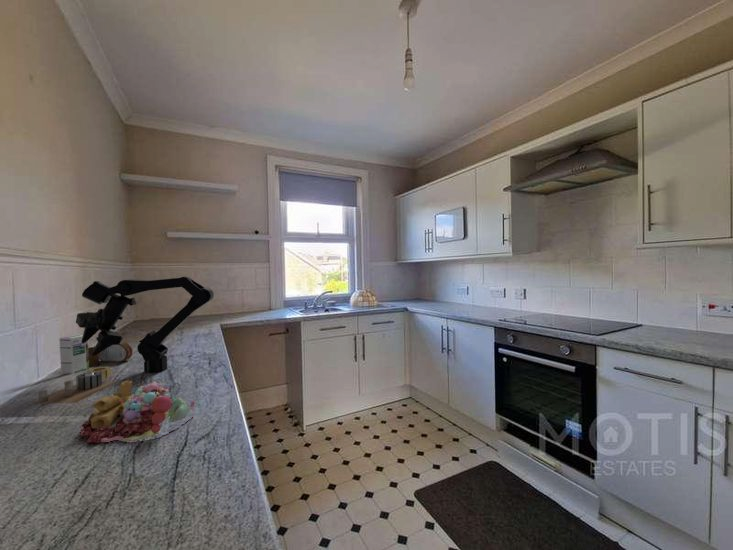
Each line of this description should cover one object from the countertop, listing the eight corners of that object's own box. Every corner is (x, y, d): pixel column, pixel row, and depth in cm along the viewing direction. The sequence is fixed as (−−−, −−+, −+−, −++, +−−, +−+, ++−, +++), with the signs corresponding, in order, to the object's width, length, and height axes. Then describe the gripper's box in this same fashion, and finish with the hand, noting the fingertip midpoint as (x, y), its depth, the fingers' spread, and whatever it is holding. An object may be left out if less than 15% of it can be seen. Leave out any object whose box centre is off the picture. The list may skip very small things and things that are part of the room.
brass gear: (115, 377, 114) (114, 366, 114) (101, 383, 107) (101, 372, 107) (97, 377, 113) (97, 366, 113) (82, 384, 107) (82, 372, 107)
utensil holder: (87, 368, 124) (86, 338, 124) (75, 367, 125) (74, 337, 125) (102, 363, 130) (101, 335, 129) (90, 362, 131) (89, 334, 131)
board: (118, 385, 106) (117, 368, 106) (76, 406, 90) (76, 386, 90) (81, 386, 105) (80, 369, 105) (33, 407, 89) (32, 387, 89)
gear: (107, 382, 105) (106, 369, 105) (91, 390, 99) (91, 376, 98) (87, 383, 104) (87, 370, 104) (71, 390, 98) (70, 376, 98)
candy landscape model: (52, 451, 68) (51, 410, 68) (119, 404, 92) (118, 373, 91) (175, 440, 72) (174, 401, 72) (210, 398, 96) (209, 368, 95)
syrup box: (72, 377, 114) (71, 337, 114) (60, 375, 115) (58, 337, 115) (89, 371, 120) (88, 334, 119) (77, 370, 121) (76, 333, 121)
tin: (133, 360, 134) (132, 341, 134) (126, 363, 131) (126, 343, 130) (101, 360, 135) (100, 340, 135) (94, 362, 132) (93, 342, 132)
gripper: (77, 294, 110) (51, 333, 108) (99, 317, 101) (70, 360, 100) (111, 301, 120) (87, 337, 118) (133, 323, 111) (108, 363, 109)
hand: (88, 348), depth 111 cm, fingers open, 9 cm apart
